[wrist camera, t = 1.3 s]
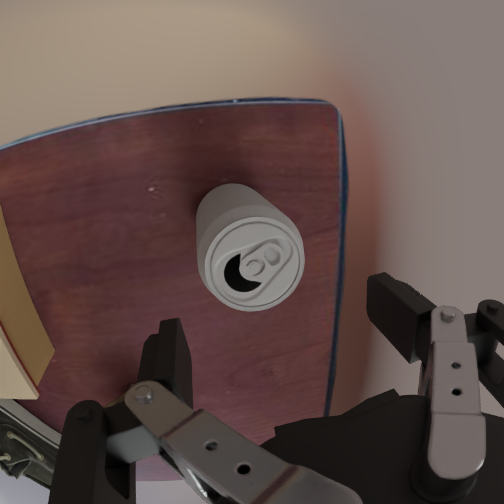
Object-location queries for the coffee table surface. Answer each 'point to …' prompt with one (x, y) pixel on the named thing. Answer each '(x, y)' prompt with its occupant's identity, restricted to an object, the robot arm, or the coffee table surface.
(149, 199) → the coffee table surface
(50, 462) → the boat shoe
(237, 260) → the beverage can
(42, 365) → the lidded cardboard box
